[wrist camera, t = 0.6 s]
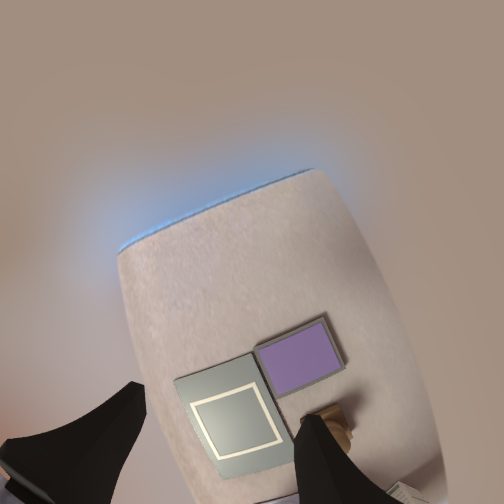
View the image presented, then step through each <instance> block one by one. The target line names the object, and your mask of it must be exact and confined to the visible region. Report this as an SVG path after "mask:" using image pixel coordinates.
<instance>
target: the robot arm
mask: <svg viewBox="0 0 504 504" xmlns="http://www.w3.org/2000/svg"><path fill="white" fill-rule="evenodd" d="M146 414H147V413H146V402H145V389H144V385H142V384H139V383H136V382H133V381H131V382H129V383H128V384H127V385H126V386H125V387H123V388H122V389H121V390H120V391H119V392H117V393H116V394H115V395H113V396H112V397H111V398H110V399H108V400H107V401H105V402H104V403H103V404H101V405H100V406H98V407H97V408H95V409H94V410H92V411H91V412H89V413H87V414H86V415H84V416H82V417H81V418H79V419H77V420H75V421H73V422H71V423H69V424H67V425H64V426H62V427H59V428H57V429H54V430H51V431H48V432H45V433H41V434H37V435H33V436H28V437H22V438H13V439H7V440H6V441H5V442H4V443H3V445H2V446H1V447H0V466H1V467H2V468H3V469H4V470H5V471H6V473H7V474H8V475H9V476H10V477H11V478H10V479H9V481H8V480H7V479H6V478H5V477H4V476H3V475H2V474H1V473H0V504H110V503H111V499H112V496H113V493H114V489H115V486H116V483H117V480H118V477H119V474H120V471H121V469H122V467H123V465H124V463H125V461H126V459H127V457H128V455H129V453H130V451H131V449H132V447H133V445H134V443H135V441H136V439H137V437H138V435H139V433H140V431H141V428H142V426H143V423H144V420H145V417H146ZM294 463H295V471H296V478H297V486H298V494H294V495H291V496H288V497H284V498H280V499H277V500H273V501H269V502H265V503H260V504H404V503H402V502H400V501H398V500H397V499H395V498H393V497H392V496H390V495H389V494H387V493H386V492H384V491H383V490H382V489H380V488H379V487H378V486H377V485H375V484H374V483H373V482H372V481H370V480H369V479H368V478H367V477H366V476H365V475H364V474H363V473H362V472H361V471H360V470H359V469H358V468H357V467H356V466H355V464H354V463H353V462H352V461H351V460H350V458H349V457H348V456H347V455H346V453H345V452H344V451H343V449H342V448H341V446H340V445H339V444H338V442H337V441H336V439H335V438H334V436H333V435H332V433H331V432H330V430H329V429H328V427H327V425H326V424H325V422H324V421H323V419H322V417H321V416H320V415H312V414H307V415H306V417H305V419H304V421H303V423H302V425H301V427H300V429H299V431H298V433H297V435H296V437H295V439H294Z"/></svg>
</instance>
